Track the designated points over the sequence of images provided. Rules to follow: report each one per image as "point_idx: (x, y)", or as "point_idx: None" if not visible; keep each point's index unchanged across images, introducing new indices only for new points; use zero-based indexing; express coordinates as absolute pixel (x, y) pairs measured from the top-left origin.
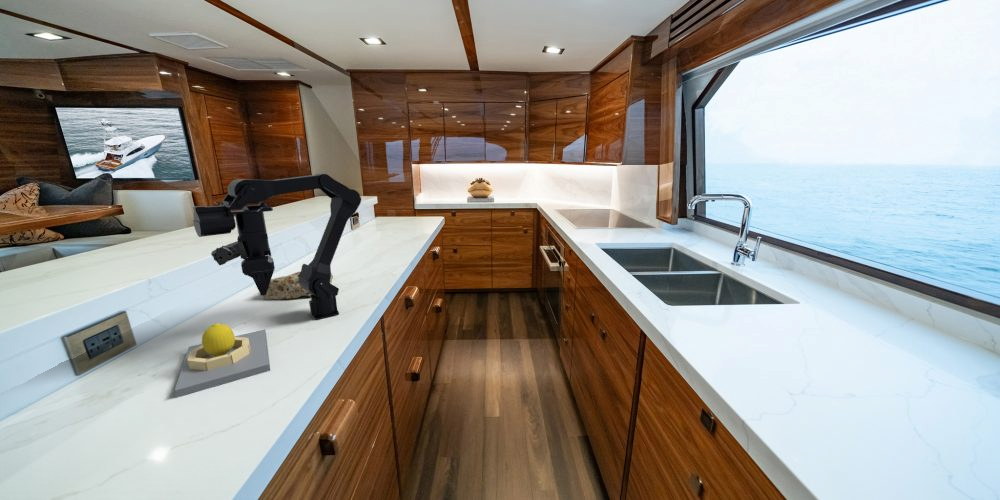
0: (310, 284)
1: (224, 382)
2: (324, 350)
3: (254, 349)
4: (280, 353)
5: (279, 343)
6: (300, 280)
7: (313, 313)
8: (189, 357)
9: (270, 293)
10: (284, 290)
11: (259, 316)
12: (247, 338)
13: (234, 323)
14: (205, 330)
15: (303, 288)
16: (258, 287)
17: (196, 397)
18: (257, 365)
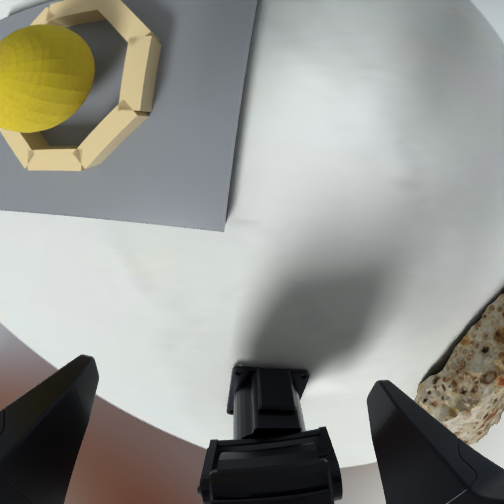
0: (209, 488)
1: None
2: (27, 318)
3: (61, 177)
4: (49, 236)
5: (113, 246)
6: (308, 479)
7: (256, 378)
8: (63, 3)
9: None
10: (490, 339)
11: (427, 236)
12: (80, 167)
13: (431, 155)
14: (14, 33)
15: (298, 449)
16: (27, 397)
17: None
18: None
